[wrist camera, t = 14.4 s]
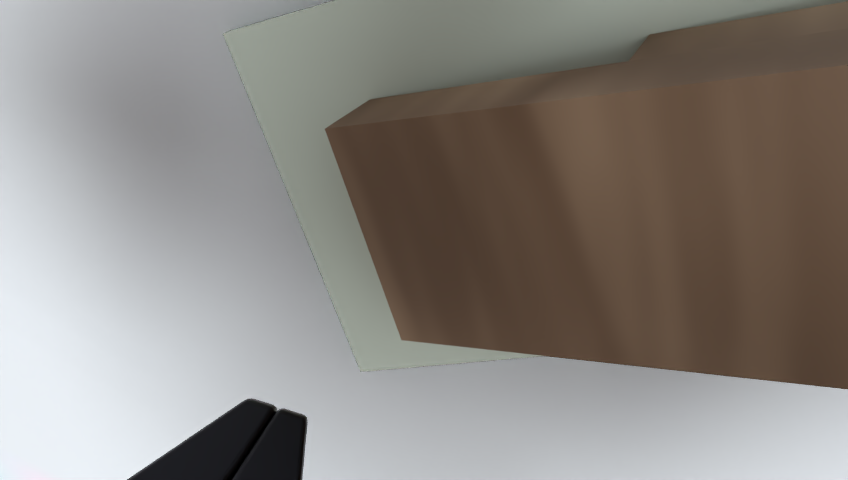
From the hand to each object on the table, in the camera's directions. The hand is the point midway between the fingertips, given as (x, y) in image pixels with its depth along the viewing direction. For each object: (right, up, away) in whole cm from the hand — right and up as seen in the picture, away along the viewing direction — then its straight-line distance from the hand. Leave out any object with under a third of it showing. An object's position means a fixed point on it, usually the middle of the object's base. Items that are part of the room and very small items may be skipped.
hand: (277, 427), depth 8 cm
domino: (+1, +3, +5) cm, 6 cm away
